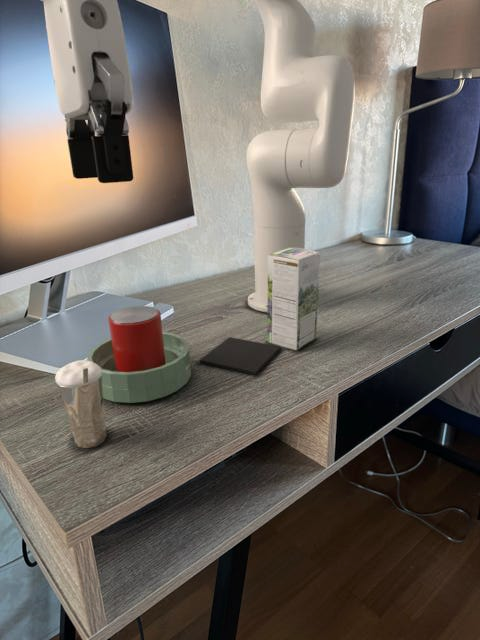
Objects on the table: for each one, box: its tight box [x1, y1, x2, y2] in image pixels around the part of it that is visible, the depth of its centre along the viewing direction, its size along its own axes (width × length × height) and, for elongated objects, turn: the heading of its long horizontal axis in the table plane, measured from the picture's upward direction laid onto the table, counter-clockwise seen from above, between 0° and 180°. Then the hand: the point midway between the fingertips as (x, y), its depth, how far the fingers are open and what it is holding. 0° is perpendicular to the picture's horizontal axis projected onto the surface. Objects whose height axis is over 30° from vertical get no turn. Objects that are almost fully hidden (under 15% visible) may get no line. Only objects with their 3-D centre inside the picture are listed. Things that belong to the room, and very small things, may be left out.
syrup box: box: [266, 248, 321, 351], centre depth 68 cm, size 6×6×14 cm
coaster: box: [199, 337, 282, 376], centre depth 67 cm, size 9×9×1 cm
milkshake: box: [54, 359, 107, 449], centre depth 47 cm, size 5×5×10 cm
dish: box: [86, 330, 192, 404], centre depth 60 cm, size 13×13×4 cm
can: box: [107, 305, 166, 372], centre depth 59 cm, size 7×7×9 cm
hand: (101, 179), depth 45 cm, fingers open, 9 cm apart
